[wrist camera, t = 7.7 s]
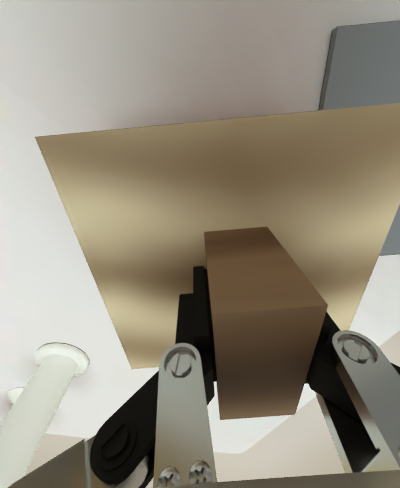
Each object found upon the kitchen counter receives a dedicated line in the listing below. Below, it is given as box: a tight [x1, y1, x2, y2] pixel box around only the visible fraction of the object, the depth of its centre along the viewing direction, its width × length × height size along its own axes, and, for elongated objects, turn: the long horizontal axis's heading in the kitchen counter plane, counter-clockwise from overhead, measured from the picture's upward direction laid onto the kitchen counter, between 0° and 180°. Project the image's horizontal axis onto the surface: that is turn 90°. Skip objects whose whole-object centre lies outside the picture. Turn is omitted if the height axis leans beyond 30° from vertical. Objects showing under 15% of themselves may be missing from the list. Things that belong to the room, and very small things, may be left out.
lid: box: [35, 103, 400, 420], centre depth 9 cm, size 15×15×6 cm
